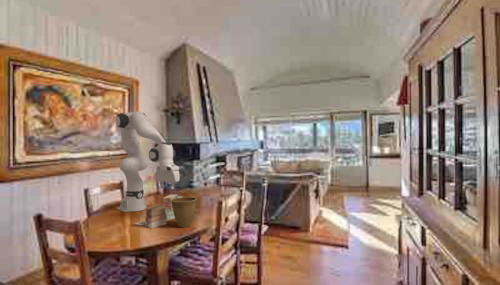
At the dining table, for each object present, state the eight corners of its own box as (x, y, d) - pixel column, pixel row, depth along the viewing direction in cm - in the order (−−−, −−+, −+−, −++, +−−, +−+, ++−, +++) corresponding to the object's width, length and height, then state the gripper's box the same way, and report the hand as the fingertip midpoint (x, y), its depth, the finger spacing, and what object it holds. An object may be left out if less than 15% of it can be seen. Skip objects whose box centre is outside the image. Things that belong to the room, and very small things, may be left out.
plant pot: (201, 223, 195) (201, 197, 194) (187, 230, 181) (187, 202, 181) (181, 221, 201) (181, 196, 201) (166, 227, 187) (165, 200, 187)
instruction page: (133, 223, 197) (133, 223, 197) (146, 220, 204) (146, 220, 204) (140, 225, 193) (140, 225, 193) (153, 222, 200) (153, 221, 200)
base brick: (145, 226, 190) (145, 216, 190) (160, 222, 199) (160, 212, 199) (151, 228, 187) (151, 218, 187) (166, 223, 196) (166, 214, 196)
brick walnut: (146, 216, 190) (146, 208, 190) (160, 213, 198) (159, 205, 198) (151, 217, 187) (151, 209, 187) (165, 214, 196) (165, 206, 195)
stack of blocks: (175, 208, 238) (175, 192, 238) (183, 208, 237) (183, 192, 237) (162, 215, 217) (162, 197, 217) (171, 215, 216) (171, 197, 216)
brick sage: (159, 220, 205) (158, 212, 205) (171, 217, 213) (171, 209, 213) (164, 221, 202) (164, 213, 202) (176, 218, 210) (176, 210, 210)
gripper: (152, 167, 211) (153, 188, 211) (173, 168, 199) (173, 190, 199) (160, 166, 216) (160, 186, 216) (180, 167, 204) (181, 189, 204)
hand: (167, 188), depth 207 cm, fingers open, 8 cm apart
